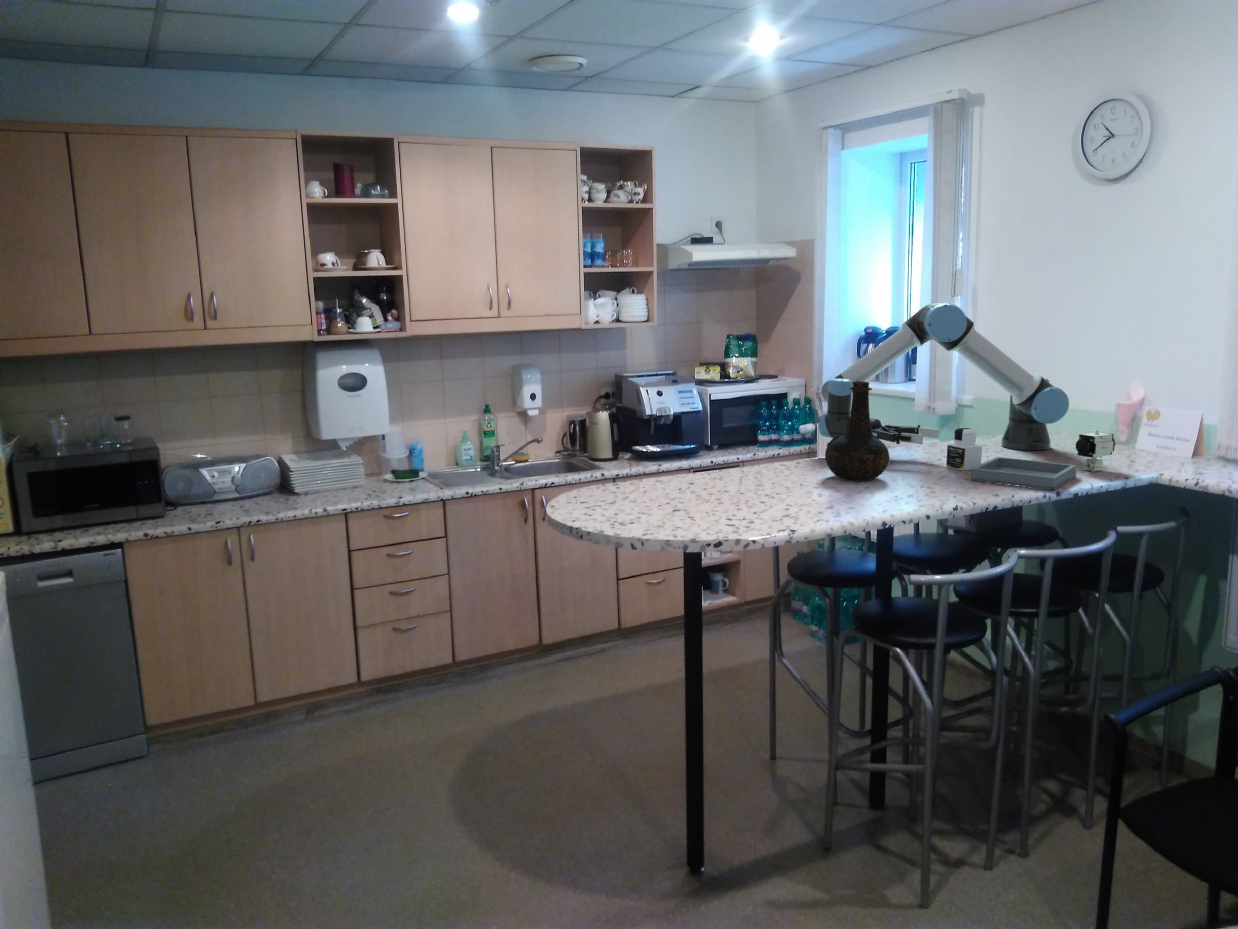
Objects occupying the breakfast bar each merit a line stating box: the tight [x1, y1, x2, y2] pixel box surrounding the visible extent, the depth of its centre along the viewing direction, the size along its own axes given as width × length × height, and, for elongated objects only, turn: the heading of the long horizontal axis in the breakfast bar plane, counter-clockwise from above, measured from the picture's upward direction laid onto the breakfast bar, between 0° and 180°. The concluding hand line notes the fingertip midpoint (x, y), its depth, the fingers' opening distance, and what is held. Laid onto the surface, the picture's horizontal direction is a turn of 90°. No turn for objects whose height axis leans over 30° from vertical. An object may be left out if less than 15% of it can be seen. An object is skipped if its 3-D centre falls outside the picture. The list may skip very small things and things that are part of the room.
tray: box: [970, 456, 1077, 492], centre depth 258 cm, size 22×22×4 cm
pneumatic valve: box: [1075, 429, 1116, 473], centre depth 267 cm, size 6×12×12 cm, turn 117°
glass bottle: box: [824, 381, 890, 482], centre depth 260 cm, size 18×18×28 cm
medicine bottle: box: [945, 427, 983, 472], centre depth 274 cm, size 7×7×12 cm
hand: (931, 436), depth 280 cm, fingers open, 13 cm apart
